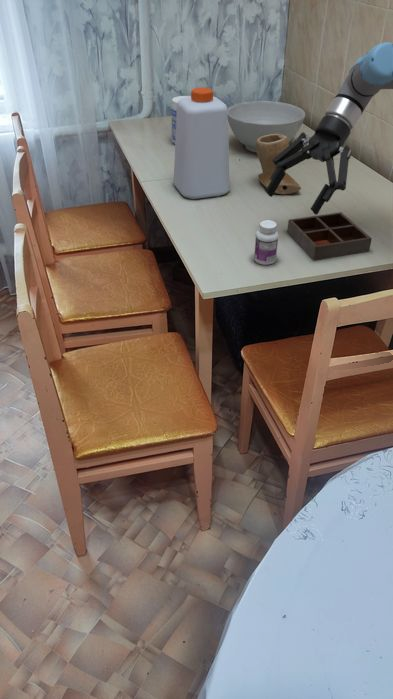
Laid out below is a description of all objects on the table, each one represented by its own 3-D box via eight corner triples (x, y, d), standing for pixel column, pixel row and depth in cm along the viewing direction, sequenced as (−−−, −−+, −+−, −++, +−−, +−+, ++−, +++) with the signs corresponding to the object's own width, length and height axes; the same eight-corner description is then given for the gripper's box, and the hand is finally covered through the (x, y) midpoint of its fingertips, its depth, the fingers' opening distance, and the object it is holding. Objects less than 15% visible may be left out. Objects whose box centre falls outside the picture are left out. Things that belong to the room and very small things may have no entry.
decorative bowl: (303, 138, 201) (308, 103, 193) (297, 164, 181) (301, 127, 173) (232, 132, 206) (234, 98, 198) (218, 157, 185) (219, 120, 178)
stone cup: (248, 178, 171) (252, 129, 162) (284, 175, 173) (289, 127, 164) (263, 198, 160) (267, 147, 150) (301, 195, 162) (308, 144, 152)
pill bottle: (255, 253, 135) (258, 217, 129) (276, 255, 134) (280, 219, 128) (252, 264, 131) (255, 227, 125) (274, 266, 130) (278, 230, 124)
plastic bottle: (185, 202, 158) (184, 100, 140) (170, 182, 169) (167, 85, 151) (233, 195, 162) (238, 95, 144) (215, 176, 173) (218, 81, 155)
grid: (368, 251, 136) (371, 238, 134) (313, 260, 132) (315, 247, 130) (338, 224, 147) (341, 212, 145) (287, 232, 144) (288, 219, 141)
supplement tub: (167, 144, 195) (165, 100, 186) (180, 136, 202) (179, 94, 192) (190, 148, 192) (190, 104, 183) (203, 140, 198) (203, 97, 189)
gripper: (388, 145, 124) (339, 226, 125) (300, 120, 137) (257, 194, 139) (380, 126, 117) (329, 212, 119) (289, 102, 131) (244, 179, 133)
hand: (290, 202), depth 129 cm, fingers open, 13 cm apart
